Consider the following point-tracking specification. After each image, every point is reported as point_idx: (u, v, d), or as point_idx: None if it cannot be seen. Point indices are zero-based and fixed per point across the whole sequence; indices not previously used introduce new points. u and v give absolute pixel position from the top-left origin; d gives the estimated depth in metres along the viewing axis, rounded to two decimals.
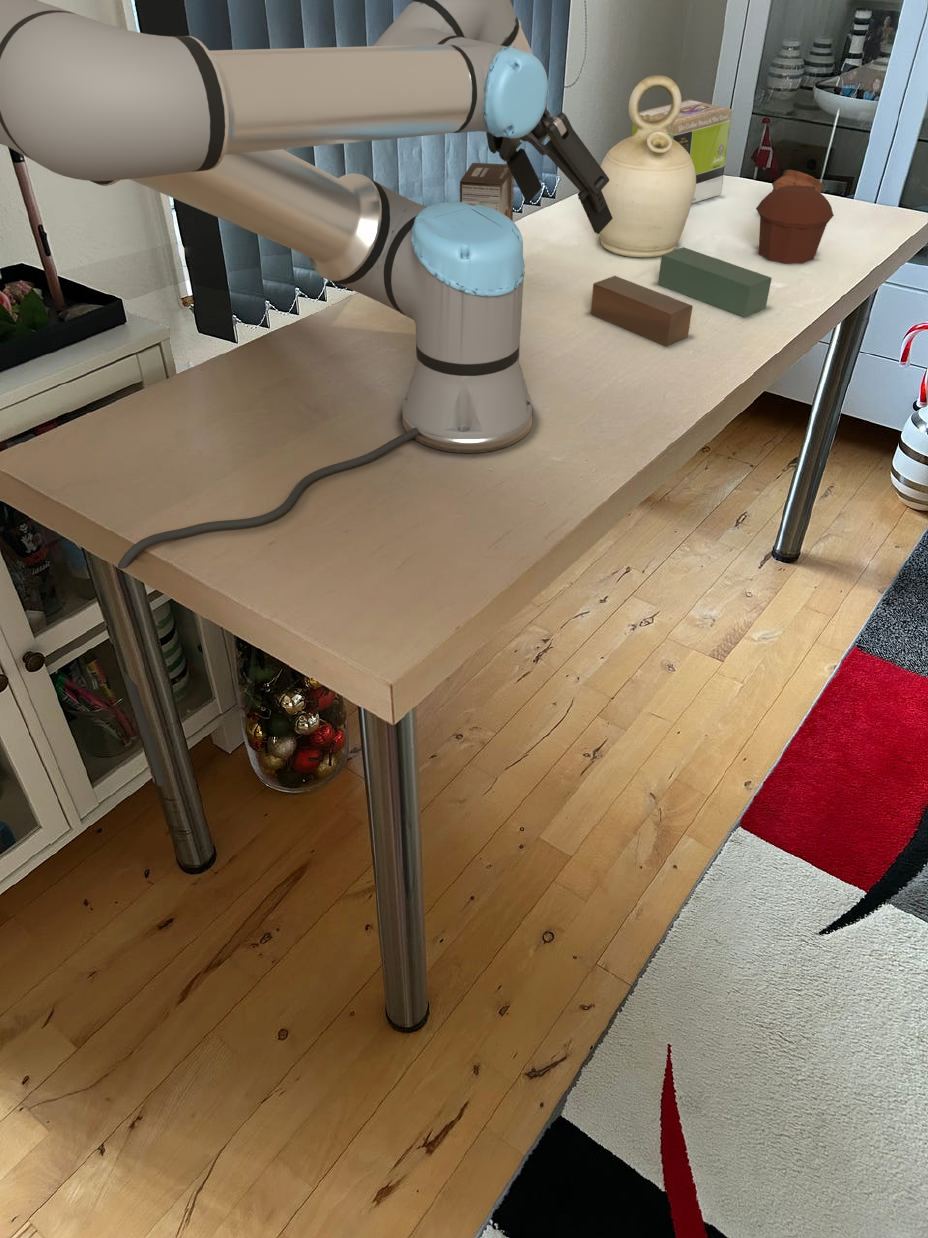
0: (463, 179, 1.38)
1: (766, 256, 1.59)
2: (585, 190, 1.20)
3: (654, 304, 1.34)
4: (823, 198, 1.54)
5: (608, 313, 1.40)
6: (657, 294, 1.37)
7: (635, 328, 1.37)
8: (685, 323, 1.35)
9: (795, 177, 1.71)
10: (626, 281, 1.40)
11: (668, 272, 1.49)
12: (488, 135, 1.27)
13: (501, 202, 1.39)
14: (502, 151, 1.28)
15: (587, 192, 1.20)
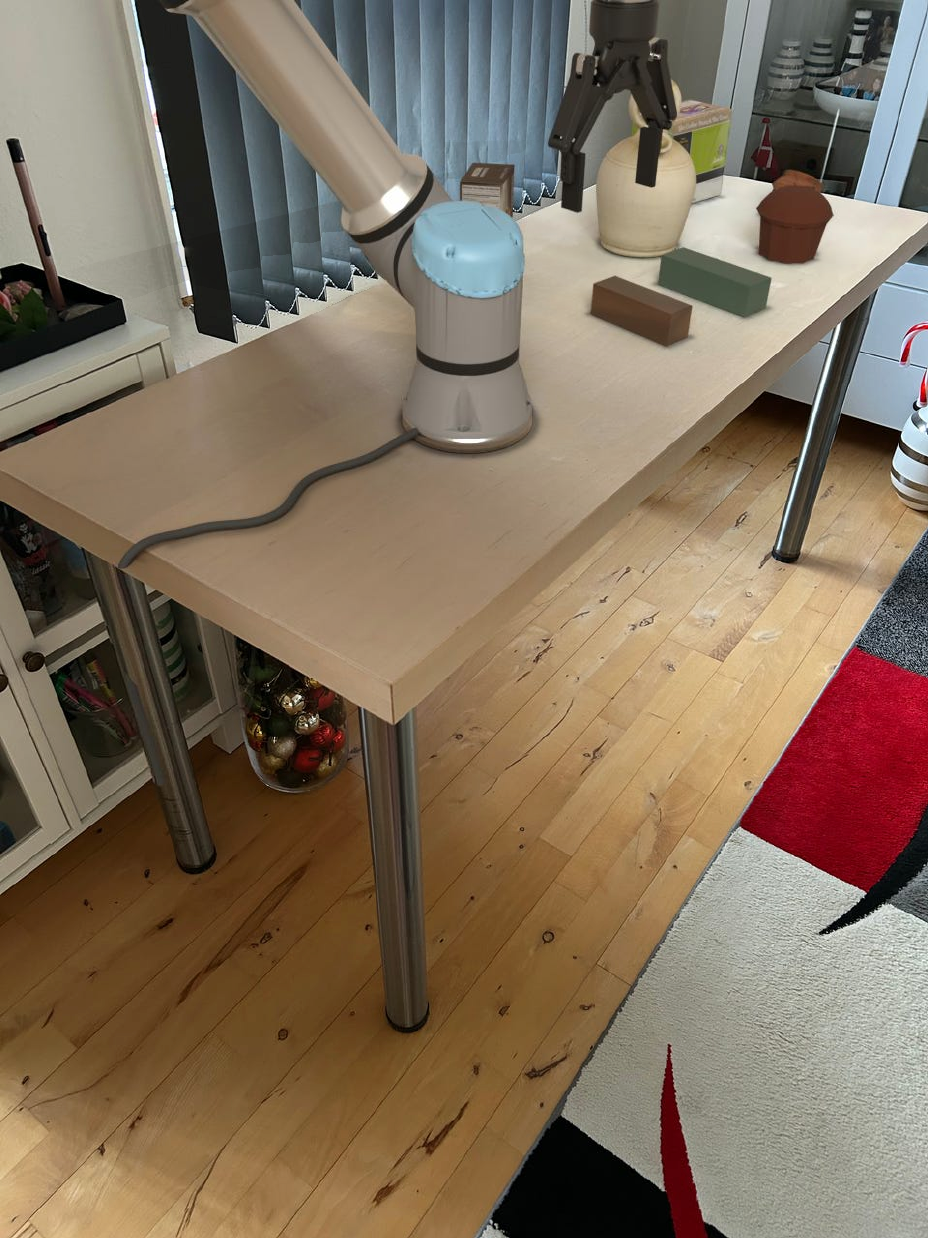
0: (463, 179, 1.38)
1: (766, 256, 1.59)
2: None
3: (654, 304, 1.34)
4: (823, 198, 1.54)
5: (608, 313, 1.40)
6: (657, 294, 1.37)
7: (635, 328, 1.37)
8: (685, 323, 1.35)
9: (795, 177, 1.71)
10: (626, 281, 1.40)
11: (668, 272, 1.49)
12: None
13: (501, 202, 1.39)
14: None
15: None
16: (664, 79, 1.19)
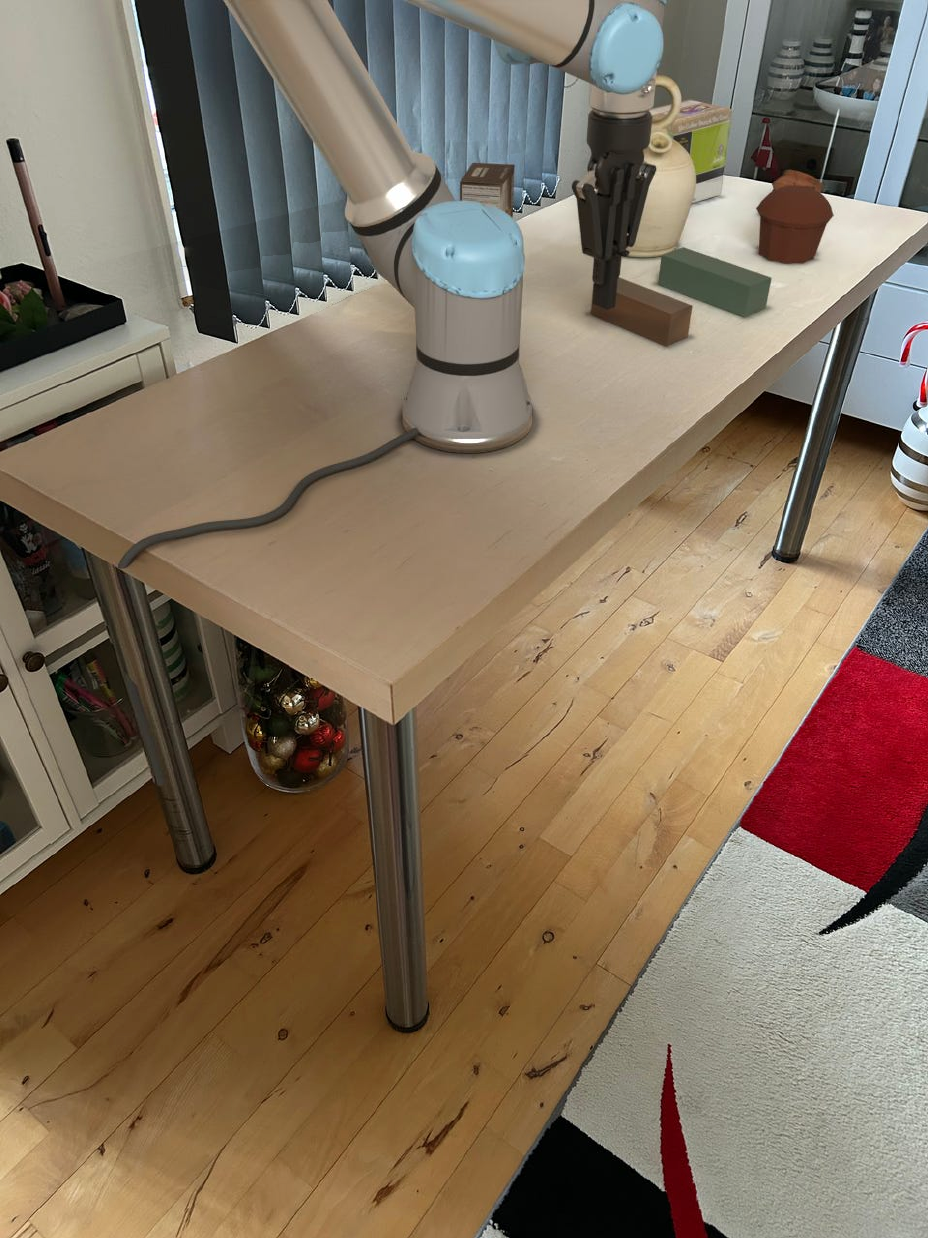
0: (463, 179, 1.38)
1: (766, 256, 1.59)
2: None
3: (654, 304, 1.34)
4: (823, 198, 1.54)
5: (608, 313, 1.40)
6: (657, 294, 1.37)
7: (635, 328, 1.37)
8: (685, 323, 1.35)
9: (795, 177, 1.71)
10: (626, 281, 1.40)
11: (668, 272, 1.49)
12: None
13: (501, 202, 1.39)
14: None
15: None
16: (639, 200, 1.25)
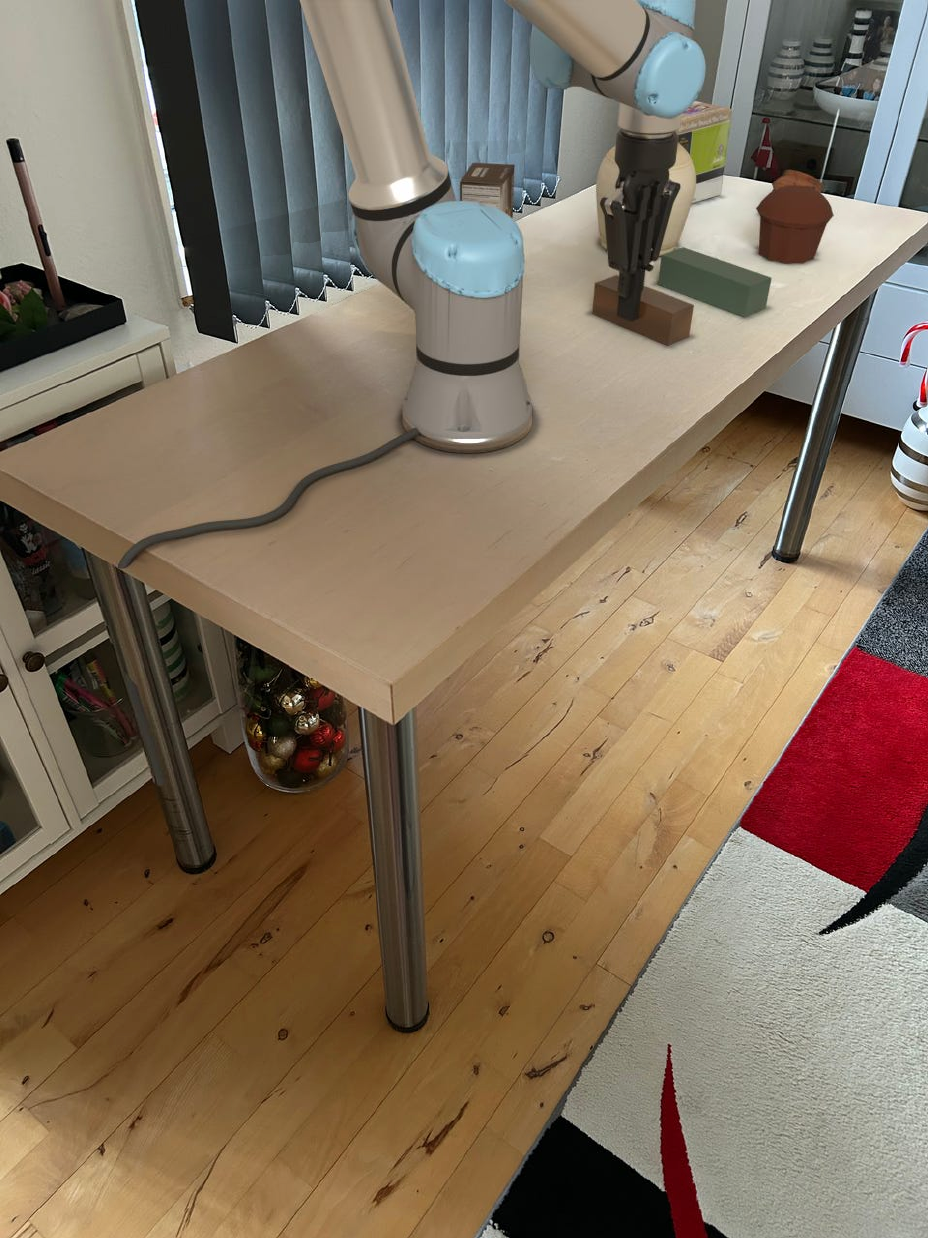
0: (463, 179, 1.38)
1: (766, 256, 1.59)
2: None
3: (656, 304, 1.34)
4: (823, 198, 1.54)
5: (610, 312, 1.40)
6: (658, 293, 1.37)
7: (636, 327, 1.38)
8: (686, 322, 1.35)
9: (795, 177, 1.71)
10: None
11: (668, 272, 1.49)
12: None
13: (501, 202, 1.39)
14: None
15: None
16: (664, 216, 1.30)
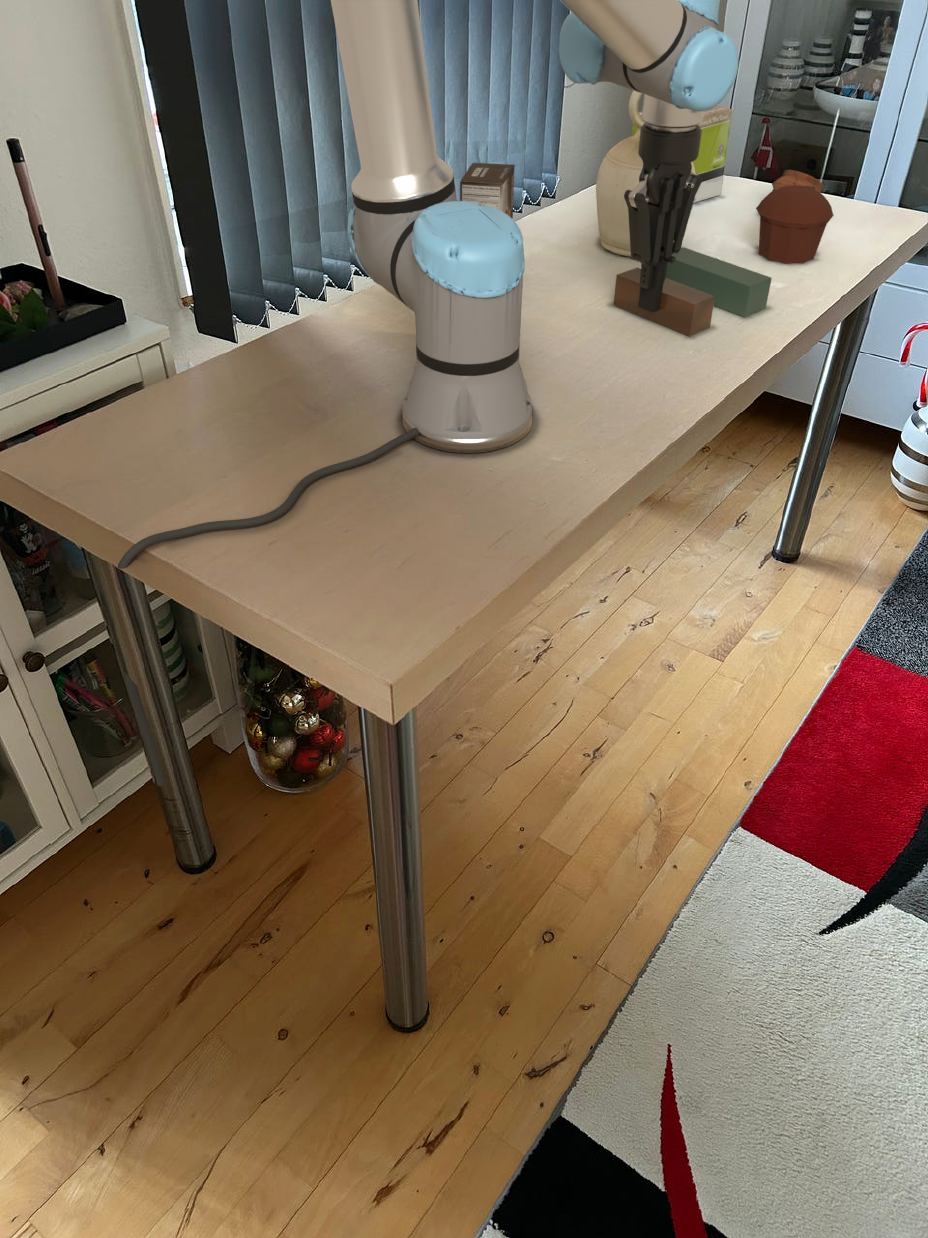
0: (463, 179, 1.38)
1: (766, 256, 1.59)
2: None
3: (677, 295, 1.36)
4: (823, 198, 1.54)
5: (631, 304, 1.42)
6: (679, 285, 1.39)
7: (658, 318, 1.40)
8: (707, 313, 1.37)
9: (795, 177, 1.71)
10: None
11: (668, 272, 1.49)
12: None
13: (501, 202, 1.39)
14: None
15: None
16: (686, 209, 1.32)
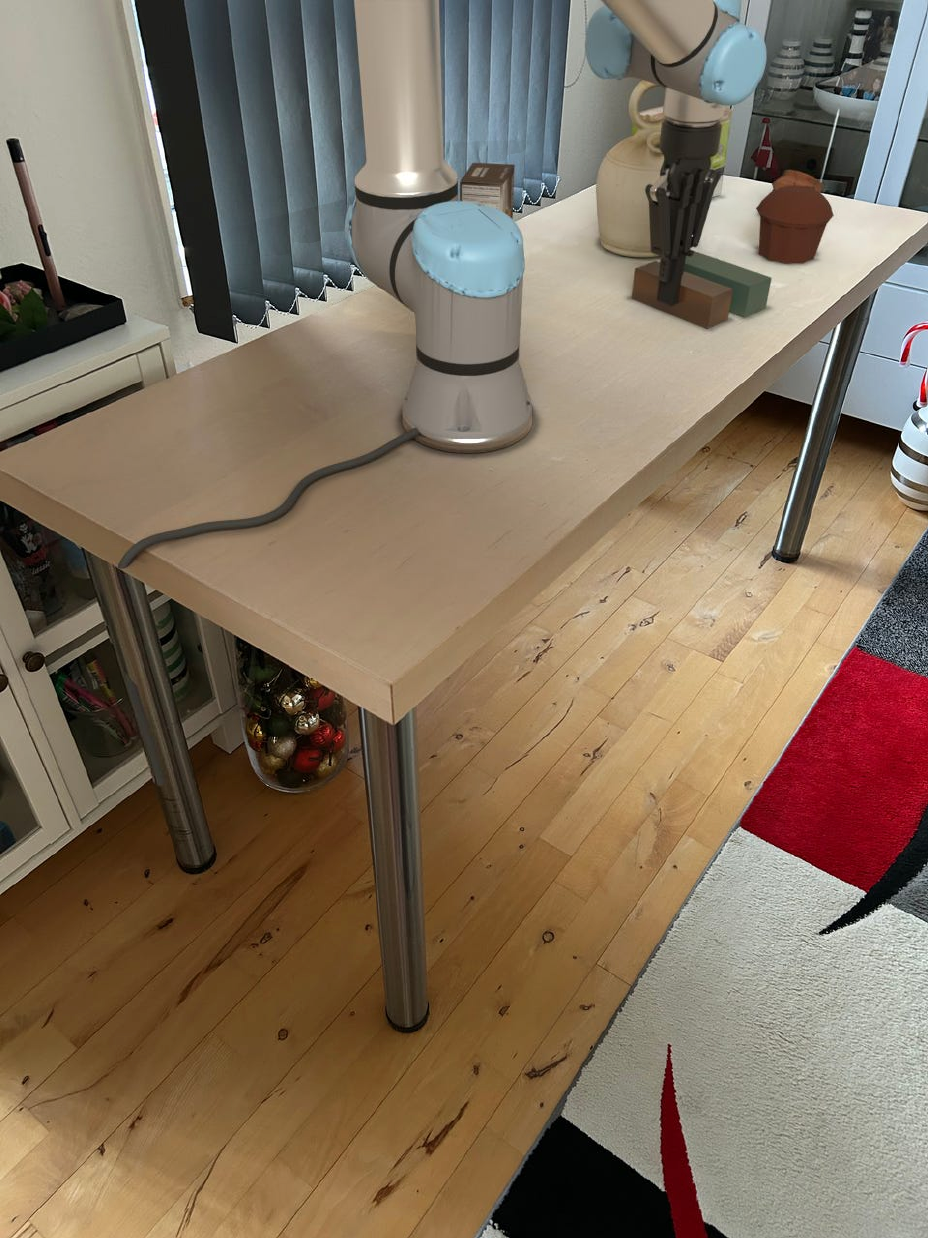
0: (463, 179, 1.38)
1: (766, 256, 1.59)
2: None
3: (696, 288, 1.38)
4: (823, 198, 1.54)
5: (650, 297, 1.44)
6: (697, 278, 1.41)
7: (676, 311, 1.42)
8: (725, 306, 1.39)
9: (795, 177, 1.71)
10: None
11: None
12: None
13: (501, 202, 1.39)
14: None
15: None
16: (705, 203, 1.34)
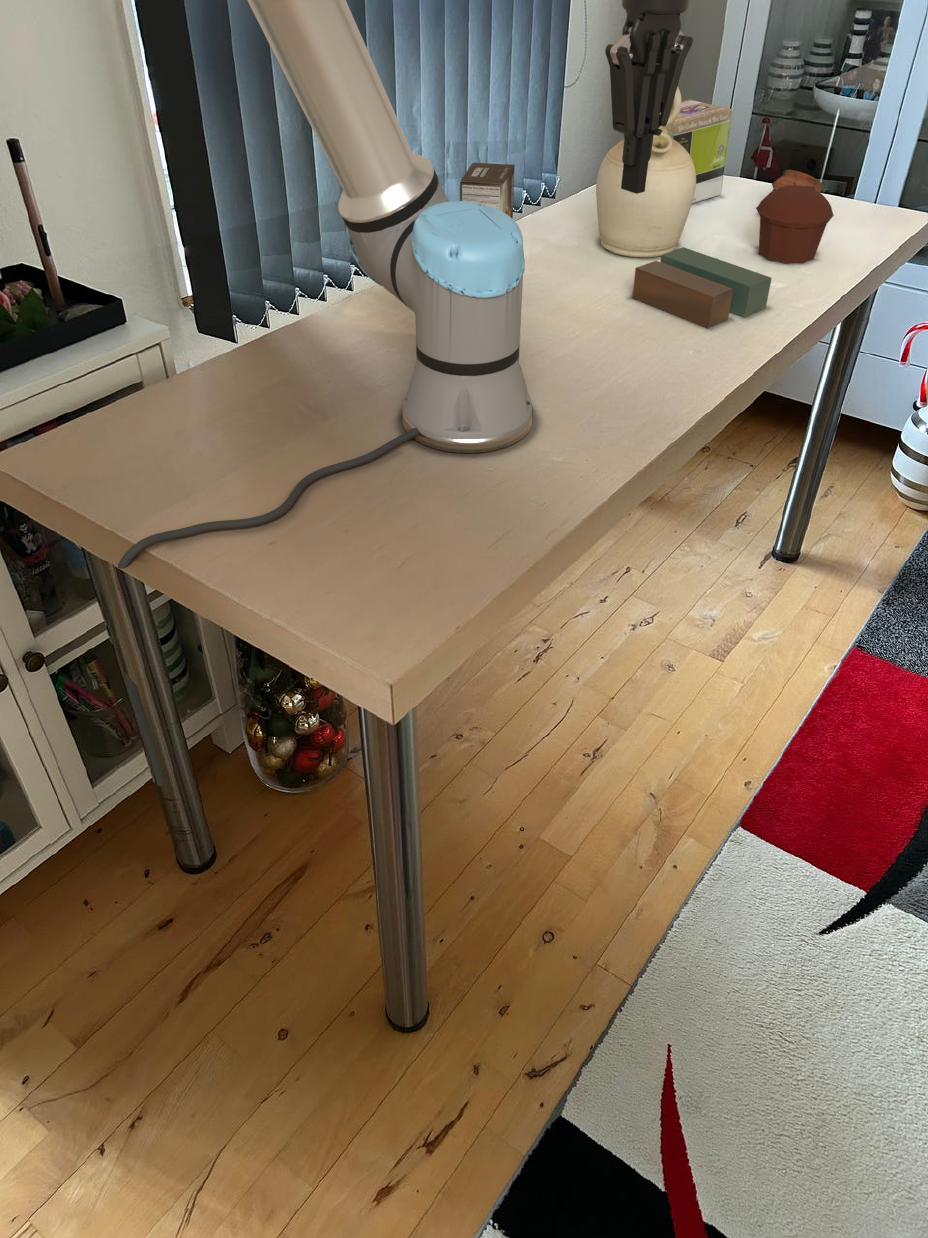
0: (463, 179, 1.38)
1: (766, 256, 1.59)
2: None
3: (696, 288, 1.39)
4: (823, 198, 1.54)
5: (650, 297, 1.44)
6: (698, 277, 1.41)
7: (677, 311, 1.42)
8: (726, 306, 1.39)
9: (795, 177, 1.71)
10: (667, 266, 1.45)
11: None
12: None
13: (501, 202, 1.39)
14: None
15: None
16: (674, 74, 1.20)
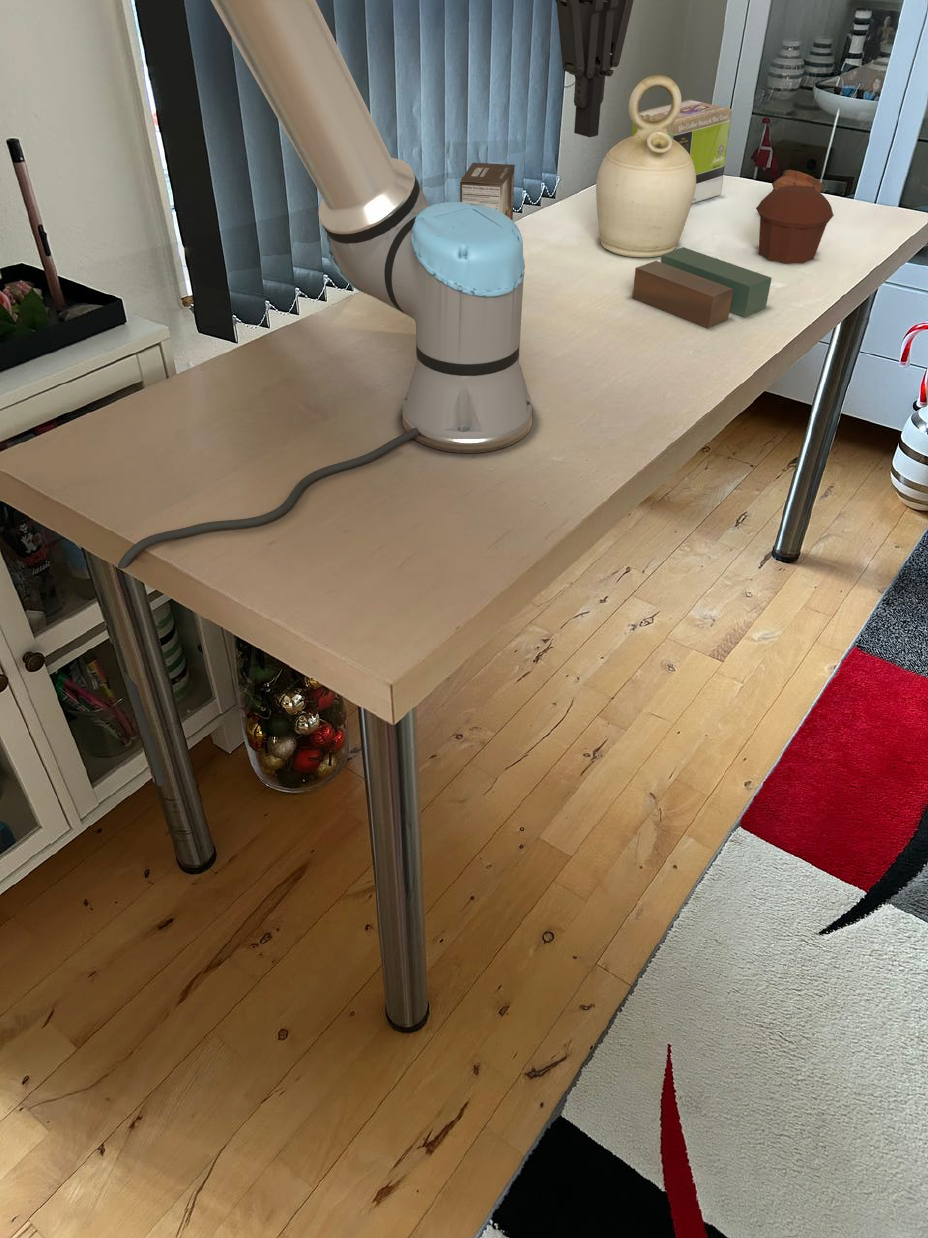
0: (463, 179, 1.38)
1: (766, 256, 1.59)
2: None
3: (696, 288, 1.39)
4: (823, 198, 1.54)
5: (650, 297, 1.44)
6: (698, 277, 1.41)
7: (677, 311, 1.42)
8: (726, 306, 1.39)
9: (795, 177, 1.71)
10: (667, 266, 1.45)
11: None
12: None
13: (501, 202, 1.39)
14: None
15: None
16: (624, 12, 1.18)
